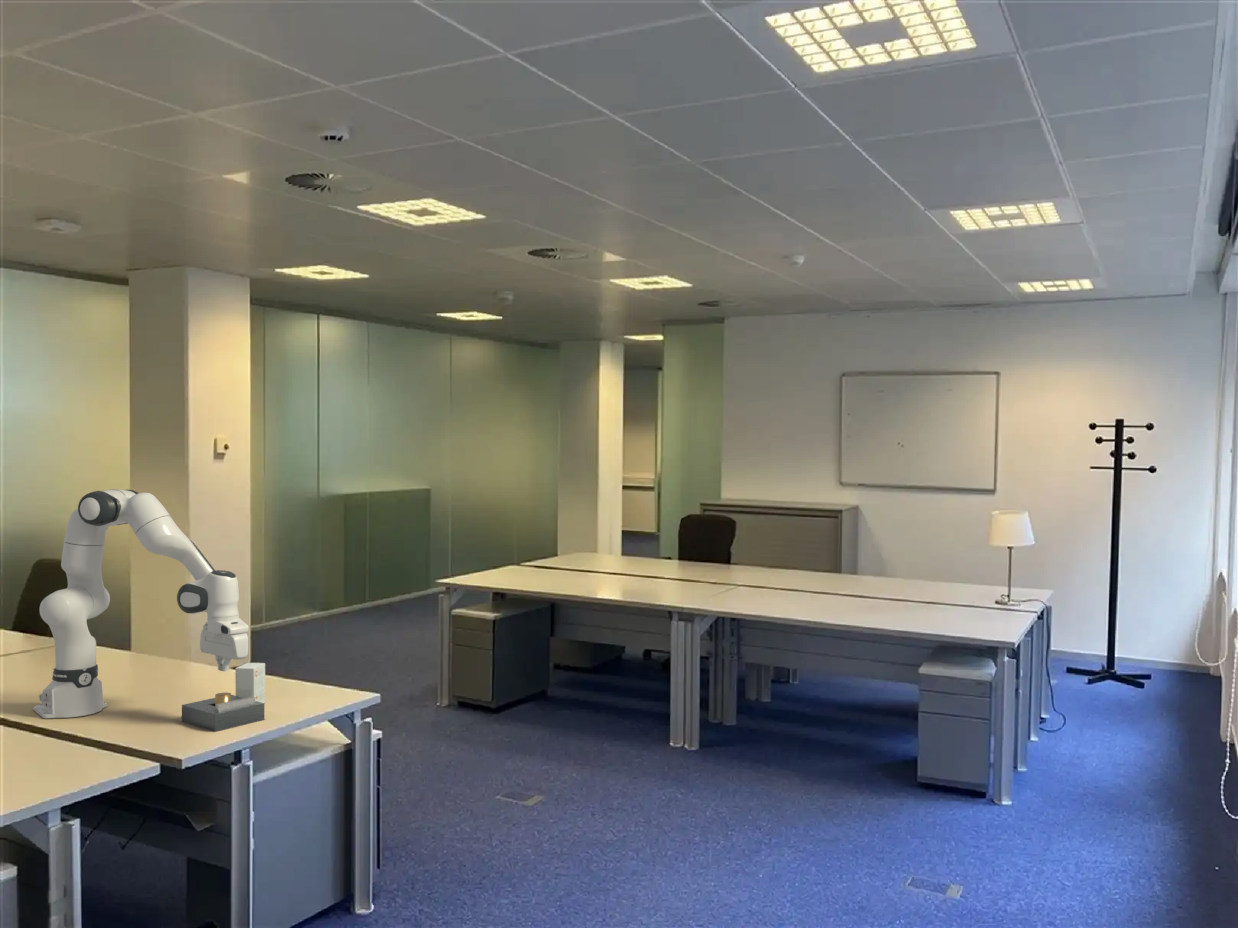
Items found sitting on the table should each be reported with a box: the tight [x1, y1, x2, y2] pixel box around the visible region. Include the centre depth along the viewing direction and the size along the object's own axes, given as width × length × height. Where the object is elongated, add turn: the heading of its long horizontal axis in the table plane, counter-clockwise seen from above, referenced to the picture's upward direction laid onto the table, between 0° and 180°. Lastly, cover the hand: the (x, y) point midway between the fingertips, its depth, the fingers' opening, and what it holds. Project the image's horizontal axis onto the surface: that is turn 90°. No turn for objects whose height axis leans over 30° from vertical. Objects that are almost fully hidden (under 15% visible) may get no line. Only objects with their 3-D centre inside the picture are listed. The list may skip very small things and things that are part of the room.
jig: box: [181, 694, 265, 733], centre depth 293 cm, size 18×16×7 cm
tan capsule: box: [214, 692, 232, 704], centre depth 293 cm, size 4×4×8 cm
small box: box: [234, 662, 266, 704], centre depth 310 cm, size 8×6×13 cm
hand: (223, 670), depth 293 cm, fingers closed
